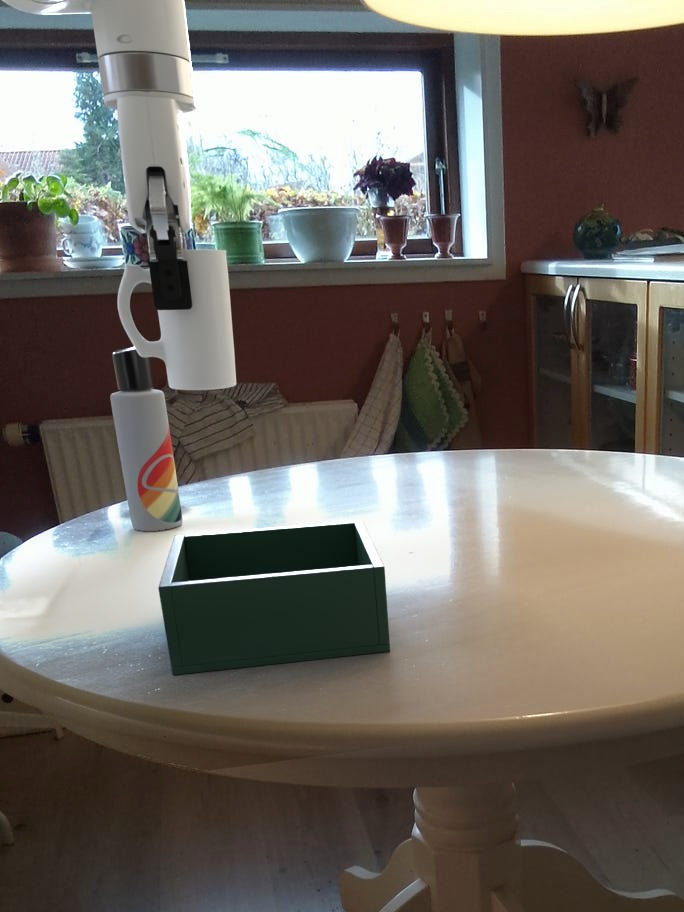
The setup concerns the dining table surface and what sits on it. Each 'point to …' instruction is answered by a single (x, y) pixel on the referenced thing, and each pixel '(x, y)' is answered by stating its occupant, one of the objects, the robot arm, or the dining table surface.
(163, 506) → the lotion bottle
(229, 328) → the mug
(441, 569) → the dining table surface
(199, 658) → the bin
